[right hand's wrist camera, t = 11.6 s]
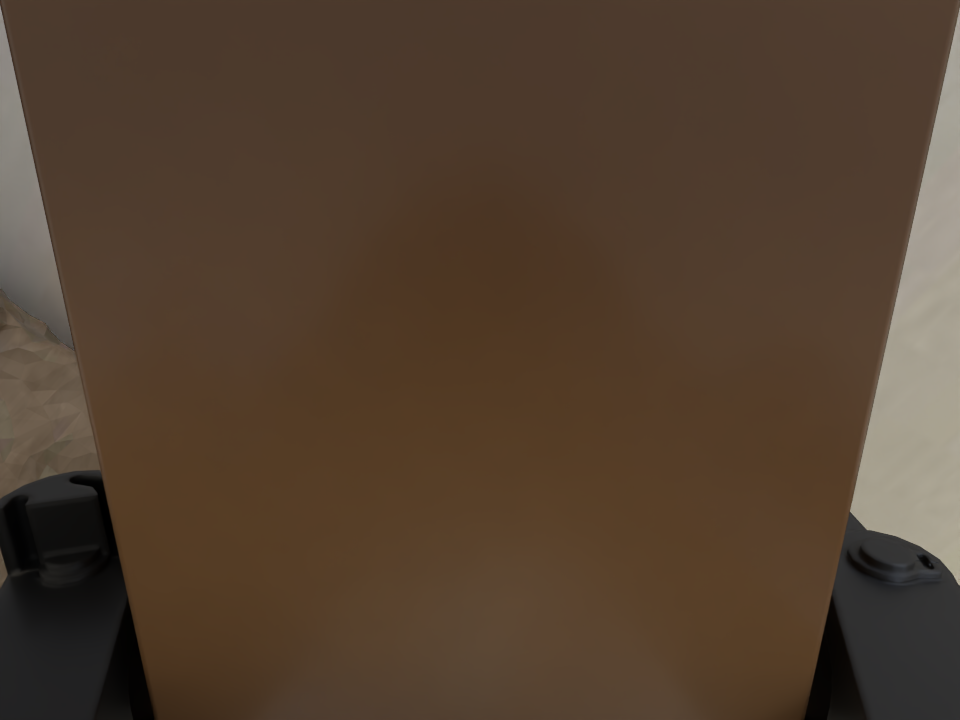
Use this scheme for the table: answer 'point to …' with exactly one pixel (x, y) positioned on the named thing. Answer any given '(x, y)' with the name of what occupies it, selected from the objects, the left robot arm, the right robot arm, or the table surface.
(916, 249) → the table surface
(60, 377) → the stone
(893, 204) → the bar
